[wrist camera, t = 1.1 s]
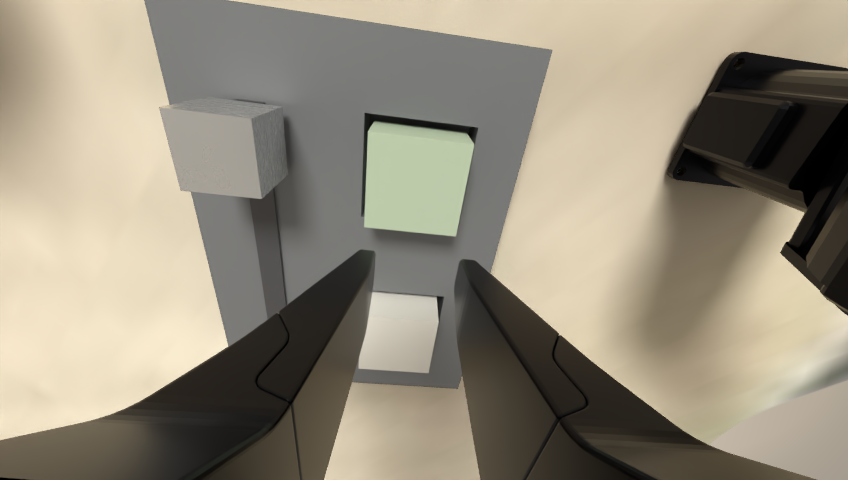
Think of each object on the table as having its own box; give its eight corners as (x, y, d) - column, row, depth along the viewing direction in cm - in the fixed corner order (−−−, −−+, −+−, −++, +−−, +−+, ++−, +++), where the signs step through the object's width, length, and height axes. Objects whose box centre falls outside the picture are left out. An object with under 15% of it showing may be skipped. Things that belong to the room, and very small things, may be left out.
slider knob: (282, 106, 14) (251, 118, 11) (288, 174, 15) (261, 199, 13) (208, 97, 14) (158, 107, 11) (221, 167, 15) (180, 190, 12)
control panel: (530, 50, 16) (554, 49, 13) (453, 356, 27) (458, 390, 24) (190, -1, 15) (136, -14, 12) (253, 342, 25) (234, 377, 23)
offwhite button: (436, 293, 21) (438, 322, 18) (427, 342, 23) (428, 373, 20) (366, 287, 20) (360, 315, 18) (364, 338, 22) (358, 368, 20)
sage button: (466, 132, 16) (474, 144, 13) (451, 214, 18) (455, 236, 16) (374, 120, 15) (367, 131, 13) (370, 205, 17) (364, 227, 15)
